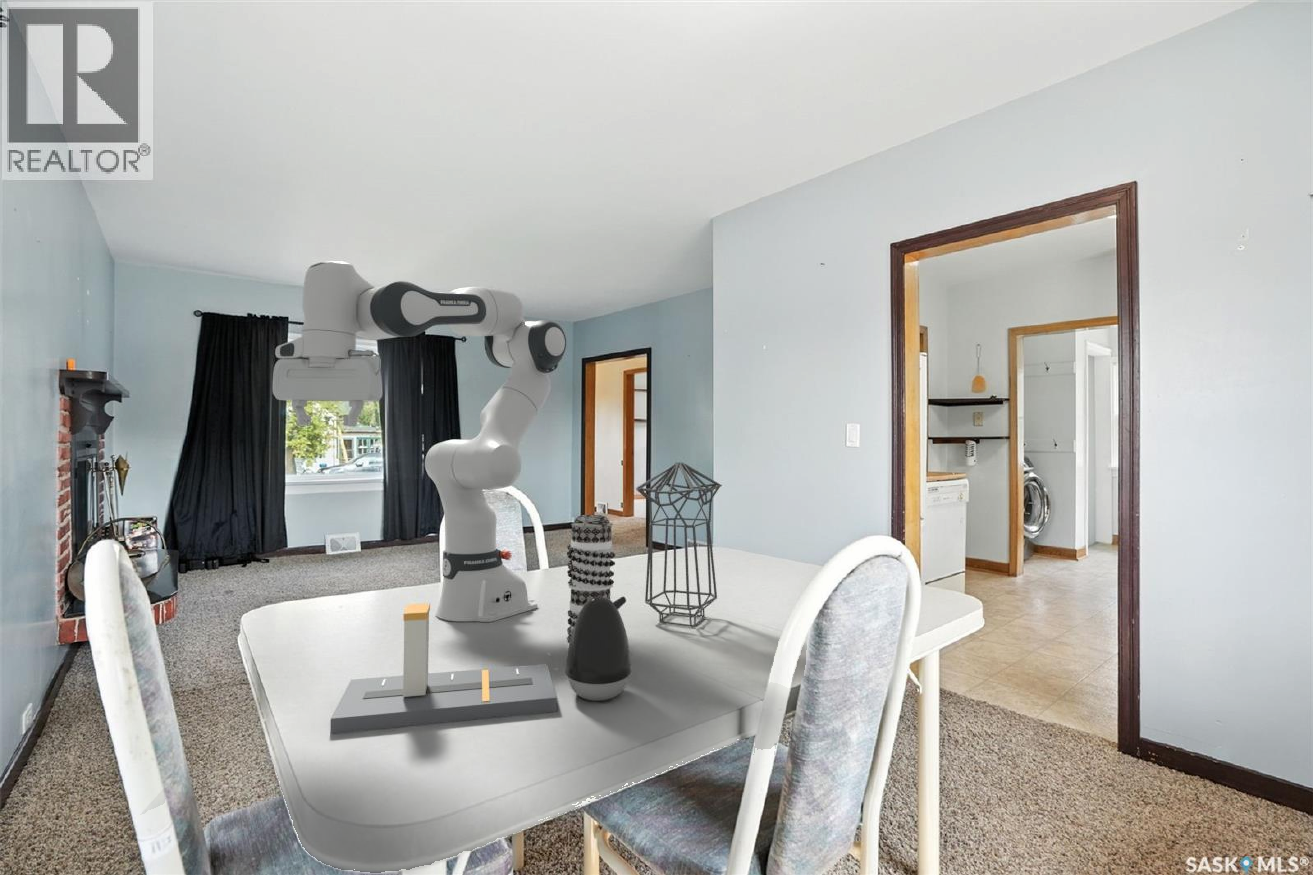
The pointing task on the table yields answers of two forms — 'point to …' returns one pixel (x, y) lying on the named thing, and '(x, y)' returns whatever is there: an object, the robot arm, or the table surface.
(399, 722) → the console board
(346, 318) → the robot arm
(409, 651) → the fader tab
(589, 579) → the decorative candle
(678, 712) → the table surface
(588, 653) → the pump dispenser
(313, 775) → the table surface
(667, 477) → the geometric lantern
